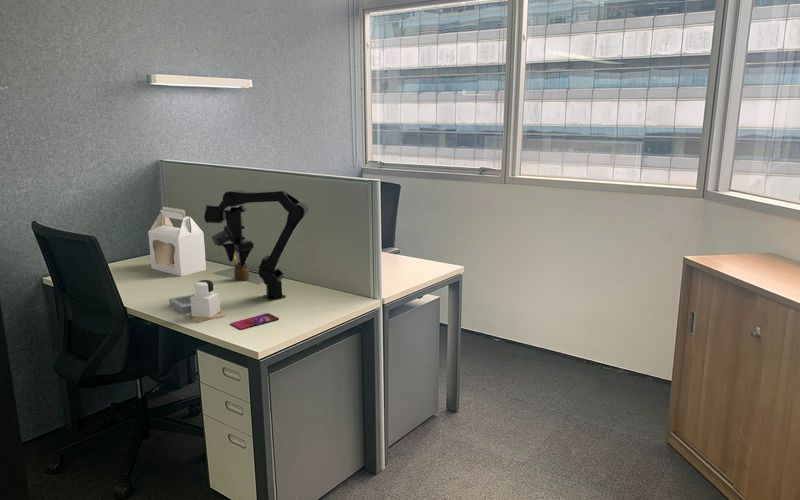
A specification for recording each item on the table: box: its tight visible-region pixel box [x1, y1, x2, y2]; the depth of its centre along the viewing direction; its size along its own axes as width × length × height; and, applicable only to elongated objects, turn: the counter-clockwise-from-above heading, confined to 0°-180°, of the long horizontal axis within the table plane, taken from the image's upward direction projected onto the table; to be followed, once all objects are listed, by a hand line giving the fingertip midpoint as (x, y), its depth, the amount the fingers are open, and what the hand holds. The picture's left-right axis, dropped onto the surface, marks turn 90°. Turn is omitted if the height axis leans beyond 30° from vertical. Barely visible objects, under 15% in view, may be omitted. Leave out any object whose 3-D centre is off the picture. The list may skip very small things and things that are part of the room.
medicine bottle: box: [190, 279, 221, 318], centre depth 207 cm, size 7×7×12 cm
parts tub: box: [168, 293, 196, 315], centre depth 218 cm, size 13×13×2 cm
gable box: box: [147, 206, 207, 277], centre depth 265 cm, size 22×13×28 cm, turn 55°
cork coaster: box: [185, 311, 226, 323], centre depth 208 cm, size 10×10×1 cm
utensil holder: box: [233, 252, 250, 282], centre depth 252 cm, size 6×6×12 cm
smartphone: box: [229, 312, 280, 331], centre depth 202 cm, size 8×1×15 cm
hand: (236, 263), depth 227 cm, fingers open, 9 cm apart
